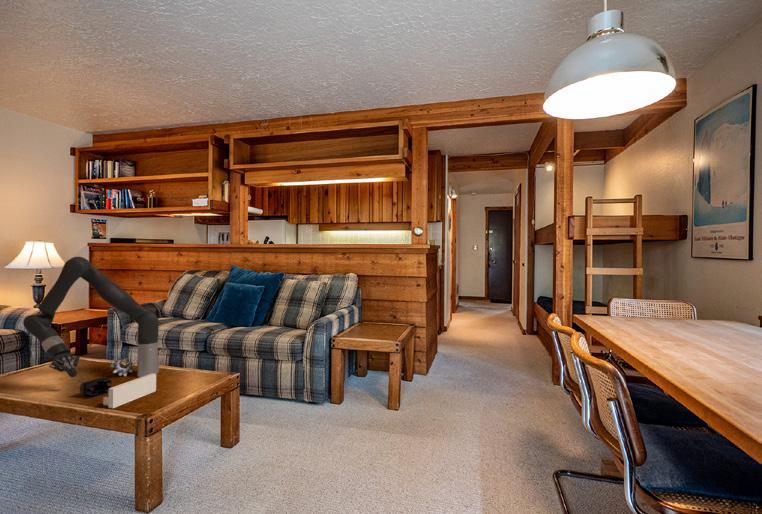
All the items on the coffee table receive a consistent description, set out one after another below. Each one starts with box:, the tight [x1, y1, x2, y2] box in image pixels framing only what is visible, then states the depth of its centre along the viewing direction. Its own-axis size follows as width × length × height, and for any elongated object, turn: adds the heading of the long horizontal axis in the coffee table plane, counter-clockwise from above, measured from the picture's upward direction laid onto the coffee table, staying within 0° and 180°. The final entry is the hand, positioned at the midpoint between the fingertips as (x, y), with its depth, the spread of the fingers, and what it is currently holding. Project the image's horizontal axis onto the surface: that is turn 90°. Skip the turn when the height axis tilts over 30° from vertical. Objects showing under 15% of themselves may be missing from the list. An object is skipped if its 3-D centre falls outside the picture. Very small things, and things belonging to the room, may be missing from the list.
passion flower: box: [108, 356, 136, 377], centre depth 205 cm, size 11×11×12 cm
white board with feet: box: [102, 374, 157, 409], centre depth 171 cm, size 22×7×8 cm, turn 166°
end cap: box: [79, 376, 113, 399], centre depth 176 cm, size 10×7×7 cm
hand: (74, 375), depth 179 cm, fingers closed
